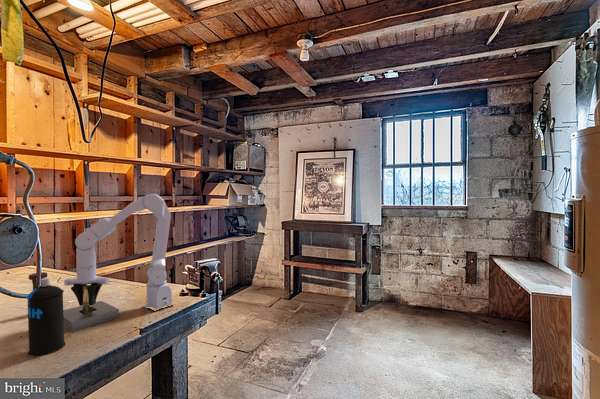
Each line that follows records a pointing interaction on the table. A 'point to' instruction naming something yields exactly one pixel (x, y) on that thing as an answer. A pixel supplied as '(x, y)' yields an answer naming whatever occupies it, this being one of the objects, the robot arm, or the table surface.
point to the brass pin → (86, 300)
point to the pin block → (89, 316)
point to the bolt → (34, 276)
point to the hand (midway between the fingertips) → (87, 304)
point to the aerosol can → (45, 319)
